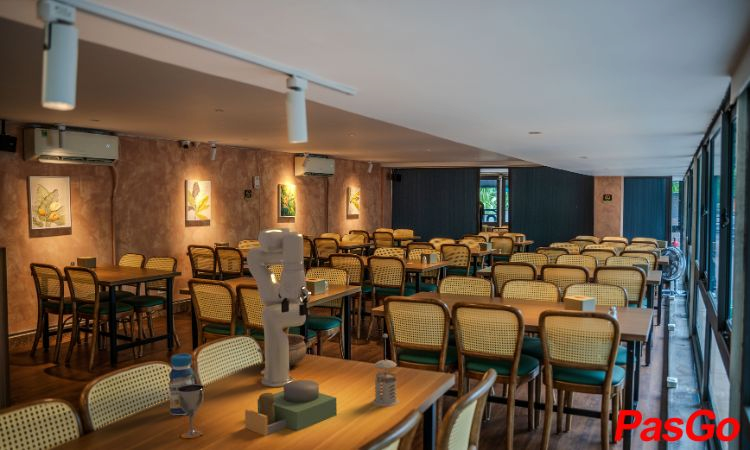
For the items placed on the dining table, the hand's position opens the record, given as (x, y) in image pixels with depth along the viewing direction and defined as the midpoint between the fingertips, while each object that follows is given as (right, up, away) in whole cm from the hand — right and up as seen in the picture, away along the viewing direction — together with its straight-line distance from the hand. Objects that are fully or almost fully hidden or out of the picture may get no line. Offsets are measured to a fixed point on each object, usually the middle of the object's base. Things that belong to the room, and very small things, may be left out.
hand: (294, 313), depth 218 cm
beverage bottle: (-38, -33, -9) cm, 51 cm away
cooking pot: (-10, -31, +47) cm, 57 cm away
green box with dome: (0, -33, -17) cm, 37 cm away
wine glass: (-28, -34, -29) cm, 53 cm away
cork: (-6, -34, -24) cm, 42 cm away
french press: (+33, -32, -2) cm, 46 cm away
